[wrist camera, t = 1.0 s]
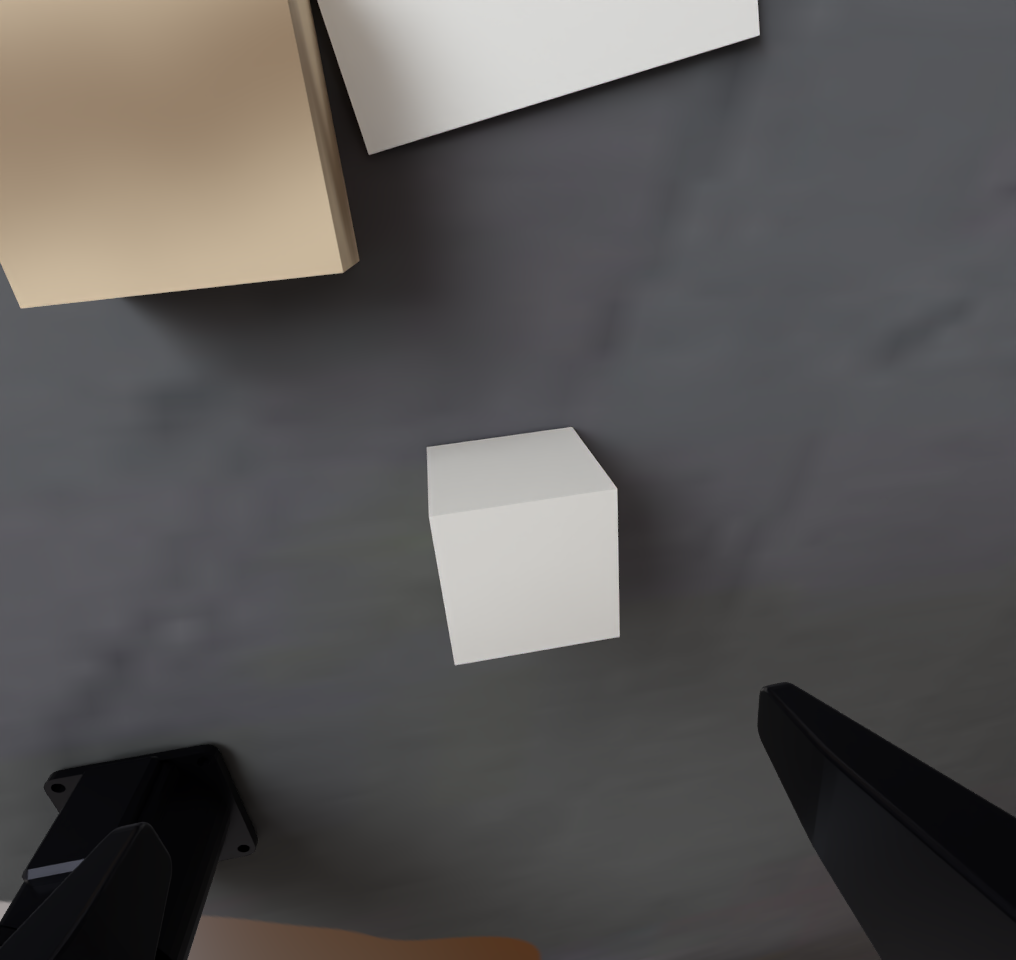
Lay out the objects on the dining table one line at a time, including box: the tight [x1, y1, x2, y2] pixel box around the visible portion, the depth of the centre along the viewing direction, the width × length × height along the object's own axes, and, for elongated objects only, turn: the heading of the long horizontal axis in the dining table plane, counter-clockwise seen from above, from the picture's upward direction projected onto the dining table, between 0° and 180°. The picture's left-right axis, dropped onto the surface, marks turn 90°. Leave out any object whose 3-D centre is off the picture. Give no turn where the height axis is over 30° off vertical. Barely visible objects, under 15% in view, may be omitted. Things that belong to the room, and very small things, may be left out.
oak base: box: [0, 0, 360, 308], centre depth 13 cm, size 7×7×4 cm
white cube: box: [427, 427, 620, 665], centre depth 18 cm, size 5×5×5 cm
